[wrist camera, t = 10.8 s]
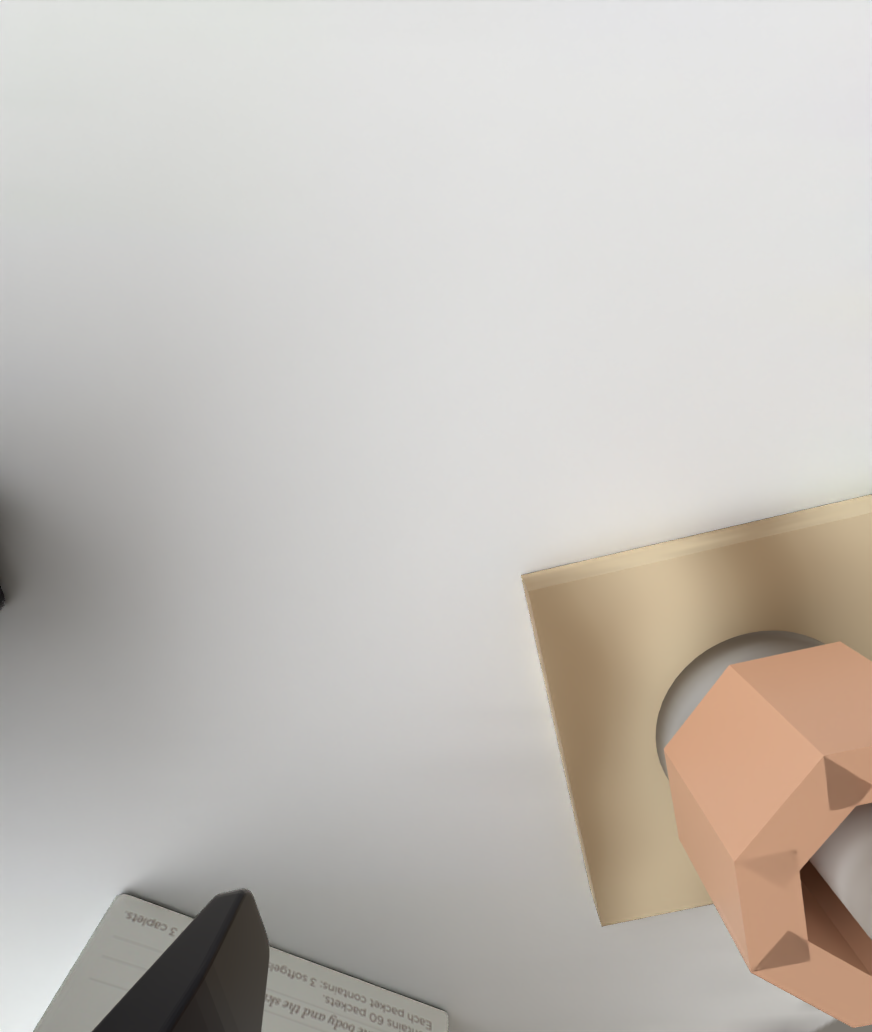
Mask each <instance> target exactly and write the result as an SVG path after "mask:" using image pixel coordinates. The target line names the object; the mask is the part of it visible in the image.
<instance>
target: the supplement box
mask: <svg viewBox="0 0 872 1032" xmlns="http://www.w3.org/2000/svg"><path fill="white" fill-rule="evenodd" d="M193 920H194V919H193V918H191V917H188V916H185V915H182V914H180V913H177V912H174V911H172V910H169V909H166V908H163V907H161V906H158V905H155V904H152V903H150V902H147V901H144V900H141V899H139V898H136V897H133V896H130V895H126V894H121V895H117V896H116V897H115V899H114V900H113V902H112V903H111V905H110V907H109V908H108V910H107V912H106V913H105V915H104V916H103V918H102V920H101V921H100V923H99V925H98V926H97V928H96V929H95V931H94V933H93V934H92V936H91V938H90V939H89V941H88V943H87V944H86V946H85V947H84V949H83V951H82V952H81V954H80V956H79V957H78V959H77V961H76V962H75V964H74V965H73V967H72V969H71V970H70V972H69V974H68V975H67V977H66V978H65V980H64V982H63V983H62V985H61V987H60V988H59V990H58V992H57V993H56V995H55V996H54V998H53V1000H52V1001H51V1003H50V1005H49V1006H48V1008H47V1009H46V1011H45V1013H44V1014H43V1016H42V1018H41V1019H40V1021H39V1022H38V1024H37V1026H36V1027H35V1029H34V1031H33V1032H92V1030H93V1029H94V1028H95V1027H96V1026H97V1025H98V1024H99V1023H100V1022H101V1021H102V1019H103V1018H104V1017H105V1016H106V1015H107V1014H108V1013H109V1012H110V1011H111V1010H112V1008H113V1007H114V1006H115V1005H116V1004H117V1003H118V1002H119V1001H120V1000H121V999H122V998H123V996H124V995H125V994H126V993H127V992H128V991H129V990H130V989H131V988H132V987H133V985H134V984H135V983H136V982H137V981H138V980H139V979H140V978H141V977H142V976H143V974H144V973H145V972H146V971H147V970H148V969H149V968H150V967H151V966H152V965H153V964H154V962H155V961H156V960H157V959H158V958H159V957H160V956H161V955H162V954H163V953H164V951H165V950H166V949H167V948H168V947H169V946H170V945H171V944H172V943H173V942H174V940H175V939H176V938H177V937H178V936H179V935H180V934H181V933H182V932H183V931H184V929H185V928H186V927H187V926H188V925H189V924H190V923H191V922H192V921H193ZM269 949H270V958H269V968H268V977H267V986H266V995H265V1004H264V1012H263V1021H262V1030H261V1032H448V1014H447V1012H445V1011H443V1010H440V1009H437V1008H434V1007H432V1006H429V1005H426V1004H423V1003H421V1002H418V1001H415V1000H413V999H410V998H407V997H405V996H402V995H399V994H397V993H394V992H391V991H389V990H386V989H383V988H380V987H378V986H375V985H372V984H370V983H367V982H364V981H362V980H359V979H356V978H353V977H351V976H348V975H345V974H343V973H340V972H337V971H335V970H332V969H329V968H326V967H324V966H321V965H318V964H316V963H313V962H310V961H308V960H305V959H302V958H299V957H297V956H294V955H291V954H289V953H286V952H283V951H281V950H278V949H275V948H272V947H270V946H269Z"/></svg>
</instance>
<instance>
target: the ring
mask: <svg viewBox="0 0 872 1032" xmlns="http://www.w3.org/2000/svg"><path fill="white" fill-rule="evenodd" d="M664 754H665V760H666V766H667V772H668V778H669V783H670V789H671V795H672V801H673V807H674V813H675V819H676V824H677V830H678V836H679V840H680V842H681V843H682V845H683V847H684V849H685V851H686V853H687V855H688V857H689V858H690V860H691V862H692V864H693V866H694V868H695V870H696V871H697V873H698V875H699V877H700V879H701V881H702V883H703V884H704V886H705V888H706V890H707V892H708V894H709V896H710V898H711V899H712V901H713V903H714V905H715V907H716V909H717V911H718V912H719V914H720V916H721V918H722V920H723V922H724V924H725V925H726V927H727V929H728V931H729V933H730V935H731V937H732V939H733V940H734V942H735V944H736V946H737V948H738V950H739V952H740V953H741V955H742V957H743V959H744V961H745V963H746V965H747V966H748V968H749V970H750V972H751V973H753V974H754V975H756V976H758V977H760V978H762V979H764V980H766V981H767V982H769V983H771V984H773V985H775V986H777V987H778V988H780V989H782V990H784V991H786V992H788V993H790V994H791V995H793V996H795V997H797V998H799V999H801V1000H803V1001H804V1002H806V1003H808V1004H810V1005H812V1006H814V1007H815V1008H817V1009H819V1010H821V1011H823V1012H825V1013H827V1014H828V1015H830V1016H832V1017H834V1018H836V1019H838V1020H840V1021H841V1022H843V1023H845V1024H847V1025H849V1026H851V1027H852V1028H855V1027H861V1026H866V1025H871V1024H872V940H871V939H870V937H869V936H868V935H867V934H866V932H865V931H864V930H863V928H862V927H861V926H860V925H859V923H858V922H857V921H856V919H855V918H854V917H853V916H852V914H851V913H850V912H849V911H848V909H847V908H846V907H845V905H844V904H843V903H842V902H841V900H840V899H839V898H838V897H837V895H836V894H835V893H834V891H833V890H832V889H831V888H830V886H829V885H828V884H827V882H826V881H825V880H824V879H823V877H822V876H821V875H820V874H819V872H818V871H817V870H816V868H815V867H814V866H813V865H812V863H811V862H810V861H809V859H810V858H811V857H812V856H813V855H814V854H815V852H816V851H817V850H818V849H819V848H820V847H821V846H822V844H823V843H824V842H825V841H826V840H827V839H828V838H829V836H830V835H831V834H832V833H833V832H834V831H835V830H836V828H837V827H838V826H839V825H840V824H841V823H842V822H843V820H844V819H845V818H846V817H847V816H848V815H849V814H850V812H851V811H852V810H853V809H854V808H855V807H856V806H858V805H863V804H868V803H872V661H870V660H869V659H867V658H866V657H864V656H862V655H861V654H859V653H858V652H856V651H855V650H853V649H851V648H850V647H848V646H847V645H845V644H844V643H842V642H840V641H839V642H834V643H829V644H825V645H820V646H815V647H811V648H806V649H801V650H797V651H792V652H787V653H783V654H778V655H773V656H769V657H764V658H759V659H754V660H750V661H745V662H740V663H736V664H731V665H729V666H728V667H727V668H726V670H725V671H724V672H723V674H722V675H721V676H720V677H719V679H718V680H717V681H716V683H715V684H714V685H713V686H712V688H711V689H710V690H709V691H708V693H707V694H706V695H705V697H704V698H703V699H702V700H701V702H700V703H699V704H698V706H697V707H696V708H695V709H694V711H693V712H692V713H691V715H690V716H689V717H688V718H687V720H686V721H685V722H684V723H683V725H682V726H681V727H680V729H679V730H678V731H677V732H676V734H675V735H674V736H673V738H672V739H671V740H670V741H669V743H668V744H667V745H666V746H665V748H664Z"/></svg>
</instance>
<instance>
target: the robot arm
mask: <svg viewBox="0 0 872 1032" xmlns="http://www.w3.org/2000/svg"><path fill="white" fill-rule="evenodd" d="M4 603H5V598H4V594H3V591H2V589H1V587H0V610H1V609H2V608H3V606H4ZM269 958H270V949H269V941H268V937H267V933H266V931H265V928H264V925H263V922H262V919H261V916H260V913H259V911H258V908H257V905H256V902H255V899H254V897H253V895H252V893H251V892H250V891H249V890H248V889H238V890H234V891H229V892H224V893H221V894H218V895H217V896H215V897H214V898H213V899H212V900H211V901H210V902H209V903H208V904H207V905H206V906H205V908H204V909H203V910H202V911H201V912H200V913H199V914H198V915H197V916H196V917H195V919H194V920H193V921H192V922H191V923H190V924H189V925H188V926H187V927H186V928H185V929H184V931H183V932H182V933H181V934H180V935H179V936H178V937H177V938H176V939H175V940H174V942H173V943H172V944H171V945H170V946H169V947H168V948H167V949H166V950H165V951H164V953H163V954H162V955H161V956H160V957H159V958H158V959H157V960H156V961H155V962H154V964H153V965H152V966H151V967H150V968H149V969H148V970H147V971H146V972H145V973H144V974H143V976H142V977H141V978H140V979H139V980H138V981H137V982H136V983H135V984H134V985H133V987H132V988H131V989H130V990H129V991H128V992H127V993H126V994H125V995H124V996H123V998H122V999H121V1000H120V1001H119V1002H118V1003H117V1004H116V1005H115V1006H114V1007H113V1008H112V1010H111V1011H110V1012H109V1013H108V1014H107V1015H106V1016H105V1017H104V1018H103V1019H102V1021H101V1022H100V1023H99V1024H98V1025H97V1026H96V1027H95V1028H94V1029H93V1030H92V1032H261V1030H262V1021H263V1012H264V1004H265V995H266V986H267V977H268V968H269Z"/></svg>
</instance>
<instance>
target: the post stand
mask: <svg viewBox="0 0 872 1032" xmlns="http://www.w3.org/2000/svg"><path fill="white" fill-rule="evenodd" d="M521 578H522V582H523V587H524V591H525V596H526V600H527V605H528V609H529V614H530V618H531V623H532V627H533V632H534V636H535V641H536V645H537V650H538V654H539V659H540V664H541V668H542V673H543V677H544V682H545V686H546V691H547V695H548V700H549V704H550V709H551V713H552V718H553V722H554V727H555V731H556V736H557V740H558V745H559V749H560V754H561V758H562V763H563V768H564V772H565V777H566V781H567V786H568V790H569V795H570V799H571V804H572V808H573V813H574V817H575V822H576V826H577V831H578V835H579V840H580V844H581V849H582V853H583V858H584V863H585V867H586V872H587V876H588V881H589V885H590V890H591V893H592V896H593V899H594V903H595V906H596V909H597V912H598V916H599V919H600V922H601V925H602V926H607V925H612V924H616V923H621V922H626V921H631V920H636V919H641V918H646V917H651V916H656V915H661V914H666V913H671V912H676V911H681V910H685V909H690V908H695V907H700V906H705V905H710V904H714V903H713V901H712V899H711V898H710V896H709V894H708V892H707V890H706V888H705V886H704V884H703V883H702V881H701V879H700V877H699V875H698V873H697V871H696V870H695V868H694V866H693V864H692V862H691V860H690V858H689V857H688V855H687V853H686V851H685V849H684V847H683V845H682V843H681V842H680V840H679V836H678V830H677V824H676V819H675V813H674V807H673V801H672V795H671V789H670V783H669V778H668V772H667V766H666V760H665V754H664V748H665V746H666V745H667V744H668V743H669V741H670V740H671V739H672V738H673V736H674V735H675V734H676V732H677V731H678V730H679V729H680V727H681V726H682V725H683V723H684V722H685V721H686V720H687V718H688V717H689V716H690V715H691V713H692V712H693V711H694V709H695V708H696V707H697V706H698V704H699V703H700V702H701V700H702V699H703V698H704V697H705V695H706V694H707V693H708V691H709V690H710V689H711V688H712V686H713V685H714V684H715V683H716V681H717V680H718V679H719V677H720V676H721V675H722V674H723V672H724V671H725V670H726V668H727V667H728V666H729V665H731V664H736V663H740V662H745V661H750V660H754V659H759V658H764V657H769V656H773V655H778V654H783V653H787V652H792V651H797V650H801V649H806V648H811V647H815V646H820V645H825V644H829V643H834V642H839V641H840V642H842V643H844V644H845V645H847V646H848V647H850V648H851V649H853V650H855V651H856V652H858V653H859V654H861V655H862V656H864V657H866V658H867V659H869V660H870V661H872V494H871V495H866V496H862V497H858V498H853V499H849V500H845V501H840V502H836V503H832V504H827V505H823V506H819V507H814V508H810V509H806V510H801V511H797V512H793V513H788V514H784V515H780V516H775V517H771V518H767V519H762V520H758V521H754V522H749V523H745V524H741V525H736V526H732V527H728V528H723V529H719V530H715V531H710V532H706V533H702V534H697V535H693V536H689V537H684V538H680V539H676V540H671V541H667V542H663V543H658V544H654V545H650V546H645V547H641V548H637V549H632V550H628V551H624V552H619V553H615V554H611V555H606V556H602V557H598V558H593V559H589V560H585V561H580V562H576V563H572V564H567V565H563V566H559V567H554V568H550V569H546V570H541V571H537V572H533V573H528V574H524V575H521ZM809 861H810V862H811V863H812V865H813V866H814V867H815V868H816V870H817V871H818V872H819V874H820V875H821V876H822V877H823V879H824V880H825V881H826V882H827V884H828V885H829V886H830V888H831V889H832V890H833V891H834V893H835V894H836V895H837V897H838V898H839V899H840V900H841V902H842V903H843V904H844V905H845V907H846V908H847V909H848V911H849V912H850V913H851V914H852V916H853V917H854V918H855V919H856V921H857V922H858V923H859V925H860V926H861V927H862V928H863V930H864V931H865V932H866V934H867V935H868V936H869V937H870V939H871V940H872V803H868V804H863V805H858V806H856V807H855V808H854V809H853V810H852V811H851V812H850V814H849V815H848V816H847V817H846V818H845V819H844V820H843V822H842V823H841V824H840V825H839V826H838V827H837V828H836V830H835V831H834V832H833V833H832V834H831V835H830V836H829V838H828V839H827V840H826V841H825V842H824V843H823V844H822V846H821V847H820V848H819V849H818V850H817V851H816V852H815V854H814V855H813V856H812V857H811V858H810V859H809Z"/></svg>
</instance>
